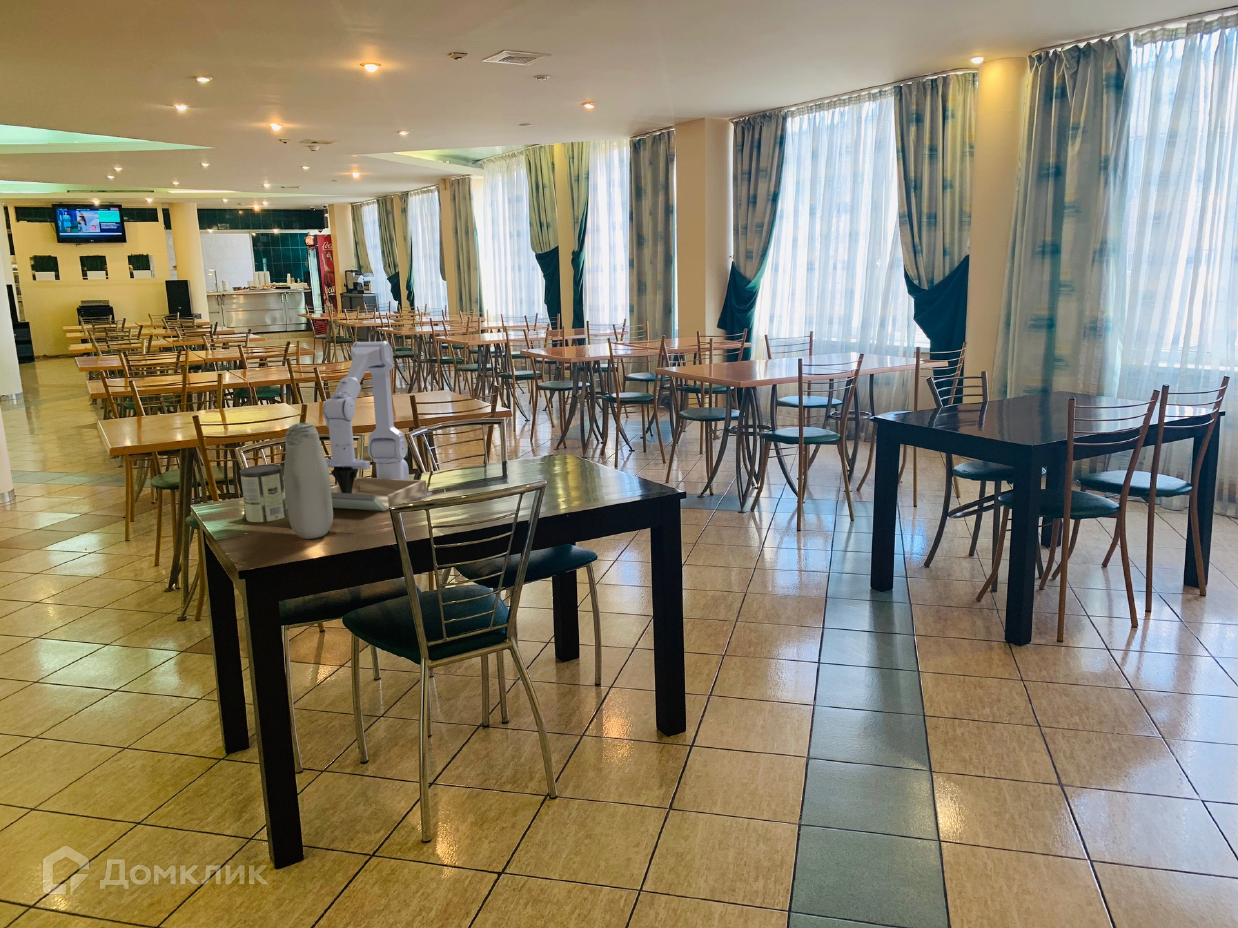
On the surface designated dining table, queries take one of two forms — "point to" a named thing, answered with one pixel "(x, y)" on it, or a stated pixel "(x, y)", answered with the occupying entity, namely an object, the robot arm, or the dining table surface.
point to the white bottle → (307, 483)
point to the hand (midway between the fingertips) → (347, 495)
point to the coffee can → (263, 493)
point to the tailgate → (356, 501)
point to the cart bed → (388, 489)
